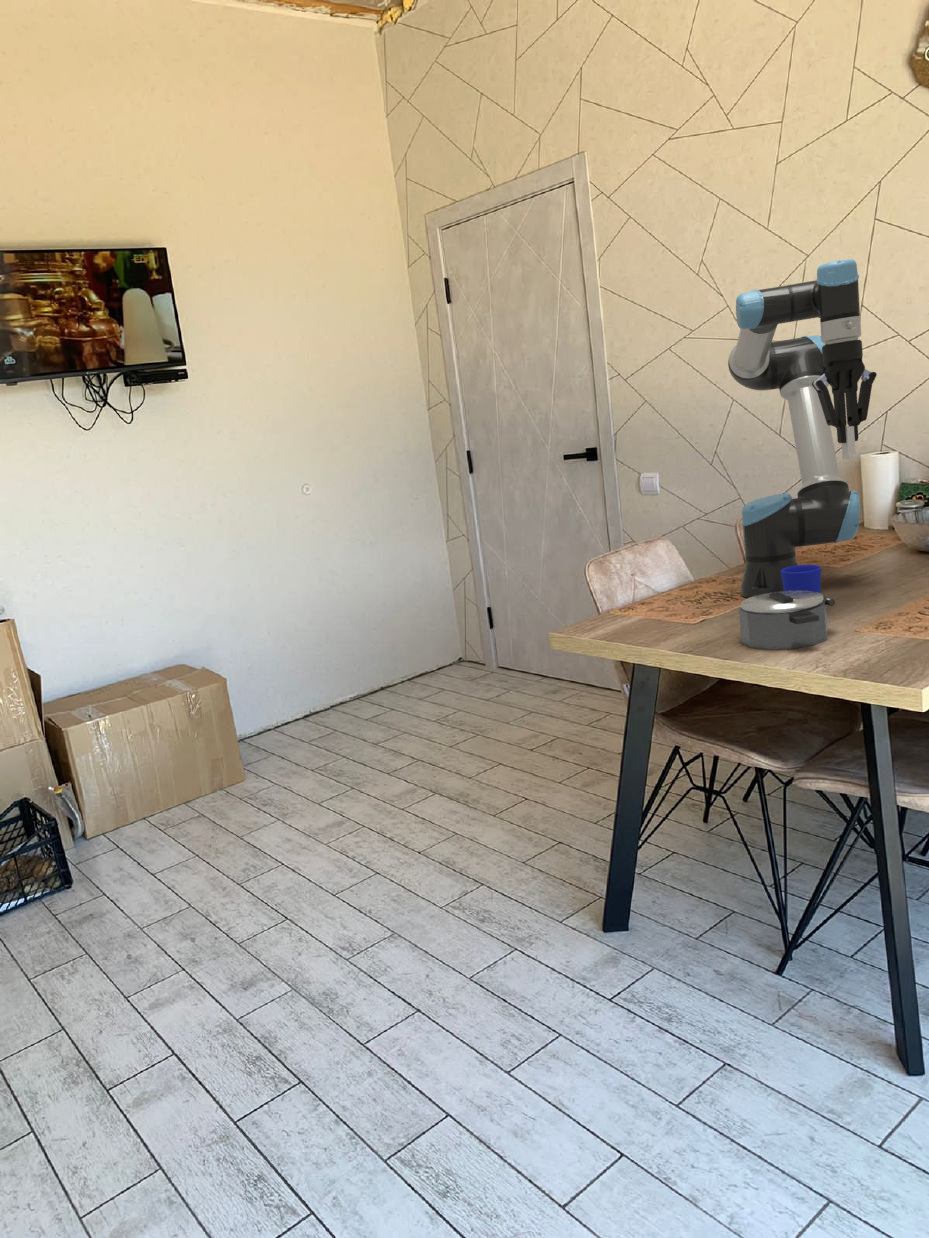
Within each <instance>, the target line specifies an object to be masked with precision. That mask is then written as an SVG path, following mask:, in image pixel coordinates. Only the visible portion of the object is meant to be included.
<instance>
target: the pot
mask: <svg viewBox="0 0 929 1238" xmlns="http://www.w3.org/2000/svg"><path fill="white" fill-rule="evenodd" d="M823 599H824V601H823V603H821V604H820V605H818V606H816V607H813V608H809V609H805V610H801V611H795V612H789V613H778V614H756V613H749V612H745V611H743V610H742V609H741V606H740V607H738V615H739V616H738V617H739V625H740V637H741V644H743V645H745V646H746V647H749V648H752V649H760V650H767V651H771V650H773V651H774V650H794V649H795V650H796V649H801V648H807V647H813V646H815V645H817V644H820V643H823V642H825V641H827V640H828V637H829V630H828V617H827V616H828V615H827V606H830V607H834V605H835V604H836V601H835V600H834V599H833V598H829V597H826V596H824V595H823Z"/></svg>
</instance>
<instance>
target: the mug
mask: <svg viewBox="0 0 929 1238" xmlns="http://www.w3.org/2000/svg"><path fill="white" fill-rule="evenodd" d="M781 576H782V582H783V588H784V591H813V592H818V593H820V594H822V592H821V591H822V568H821V566H820V565H817V564H800V565H799V564H798V566H791V567H787V568H784V569H782V570H781Z"/></svg>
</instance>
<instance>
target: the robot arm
mask: <svg viewBox="0 0 929 1238" xmlns="http://www.w3.org/2000/svg"><path fill="white" fill-rule="evenodd" d="M858 273H859V272H858V266H857V262H856V260H855V259H852V258H847V259H841V260H834V261H830V262H826V263H823V264H820V265H819V266H818V267H817V268H816V279H815V280H811V281H804V282H799V283H793V284H786V285H781V286H775V287H770V288H769V287H768V288H763V289H752V290H750V291H747V292H743V293H740V294H738V295H737V297H736V299H735V315H736V322H737V326H738V328H739V329H740V330H739V335H738V339H737V343H736V345H735V346H733V347H732V349H731V350H730V353H729V355H728V361H727V366H728V370H729V373H730V376H731V377H732V378H733V380H735V382H737V383H738V384H740V385H741V386H743V387H745V388H747V389H750V390H754V391H771V390H779V395H780V397H781V398H782V399H783V400H786V401H787V403H788V409H789V415H790V420H791V421H790V422H791V425H792V427H791V428H792V433H793V437H794V444H795V449H796V450H795V451H796V454H797V455H796V457H797V461H798V467H799V473H800V479H801V487H800V488H799V489H798V491H797V498H793V497H792V495H791V494H790V493H788V492H786V493H780V494H779V493H778V494H772V495H768V496H764V497H760V498H758V499H757V498H756V499H754V500H752V501H749V502H747V503H746V504H745V505H743V507H742V509H741V527H742V534H743V542H744V543H743V544H744V545H743V546H744V555H745V567H744V570H743V576H742V579H741V584H740V594H741V596H742V597H744V598H745V599H748V598H750V597H753V596H757V595H761V594H766V593H773V592H781V591H784V588H783V582H782V576H781V570H782V569H784V568H787V567H791V566H798V565H799V563H798V561H797V555H796V553H797V552H796V548H801V547H809V546H817V545H824V544H825V545H827V544H837V543H840V542H841V543H842V542H846V541H851V540H853V539H854V538H855V537H856V535H857V533H858V531H859V527H860V519H861V501H860V497H859V496H860V495H859V492H858V491H856V490H850V489H849V483H848V482H847V481H846V480H844V479H842V478H841V477H840V473H839V468H838V467H839V466H838V462H837V461H838V460H837V456H836V450H835V444H834V440H833V434H832V430H831V429H832V428H831V427H834V428H836V436H837V439H836V440H837V443H838V444H841V452H842V455H841V456H842V459H843V460H852V459H857V453H856V442H858V440H859V425H860V424H861V423H862V422H865V421H866V420H867V419H868V412H869V409H870V408H869V407H870V400H871V396H872V395H871V394H872V388H873V383H874V381H875V380H876V377H877V372H876V371H870V370H868V369H866V366H865V364H864V362H863V357H864V356H863V355H864V353H863V341H862V340H861V339H859V338H860V337H861V336H862V323H861V316H860V315H861V309H860V307H861V306H860V292H859V277H860V275H859V274H858ZM815 318H819V321H820V322H819V325H820V335H808V336H807V335H803V336H801V337H796V338H791V339H784V340H783V339H782V340H777V341H773V339H774V335H775V333H776V331H777V327H778V325H779V324H786V323H791V322H796V321H797V322H798V321H803V320H810V319H815ZM860 380H861V383H860V386H859V387H860V388H859V387H858V384H859V381H860ZM829 386H830V387H831V395H832V396H833V401H832V397H831V395H830V391H829V389H828V387H829ZM858 389H859V393H858Z"/></svg>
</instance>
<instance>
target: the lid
mask: <svg viewBox="0 0 929 1238" xmlns="http://www.w3.org/2000/svg"><path fill="white" fill-rule="evenodd" d="M823 596H824V595H823V594H822V593H821V594H820V593H818V592H813V591H781V592H773V593H766V594H761V595H757V596H753V597H750V598H745V599H743V600H742V601H741V602H740V607H741V609H742V610H743V611H745V612H749V613H756V614H778V613H789V612H795V611H801V610H805V609H809V608H813V607H816V606H818V605H820V604H821V603H823V601H824V599H823Z"/></svg>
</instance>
